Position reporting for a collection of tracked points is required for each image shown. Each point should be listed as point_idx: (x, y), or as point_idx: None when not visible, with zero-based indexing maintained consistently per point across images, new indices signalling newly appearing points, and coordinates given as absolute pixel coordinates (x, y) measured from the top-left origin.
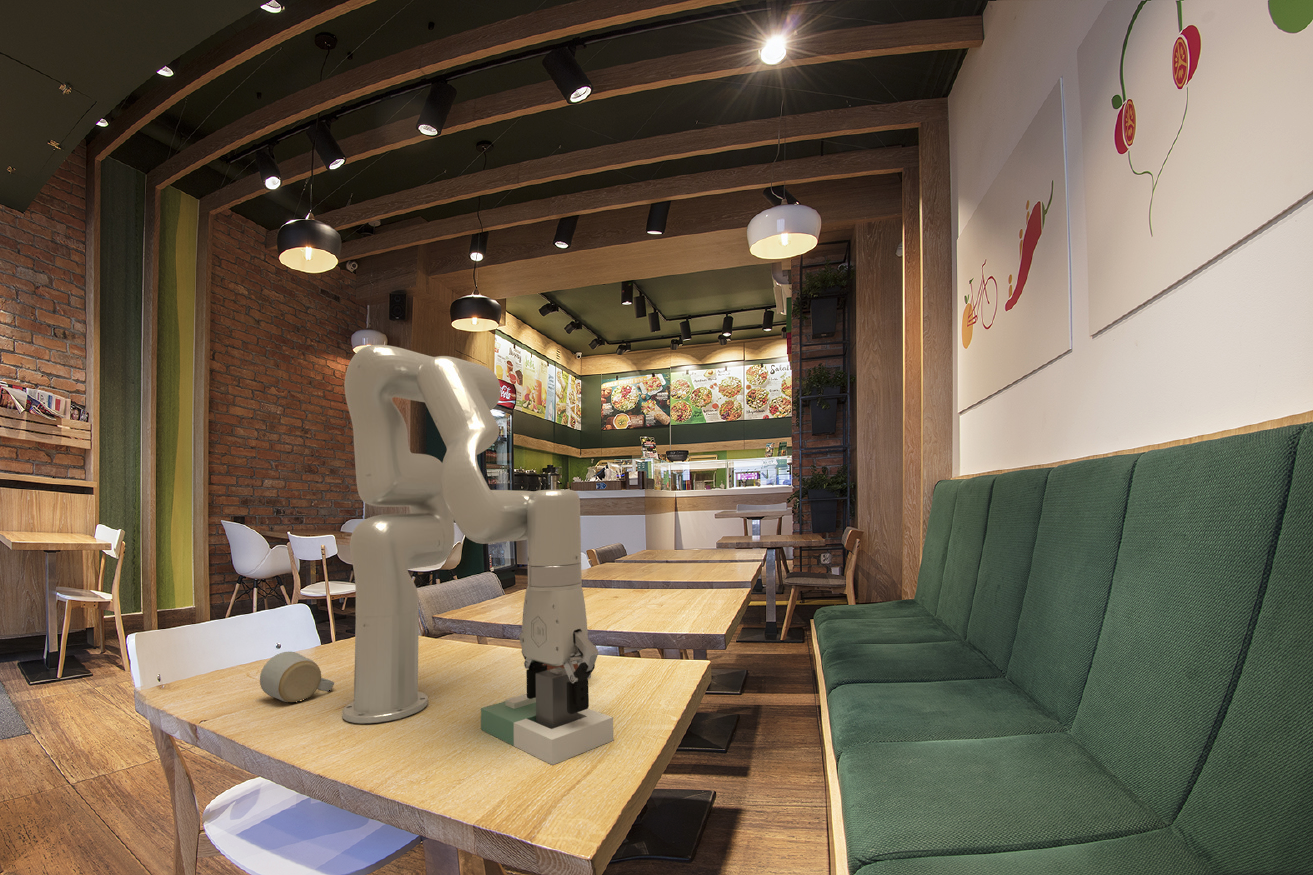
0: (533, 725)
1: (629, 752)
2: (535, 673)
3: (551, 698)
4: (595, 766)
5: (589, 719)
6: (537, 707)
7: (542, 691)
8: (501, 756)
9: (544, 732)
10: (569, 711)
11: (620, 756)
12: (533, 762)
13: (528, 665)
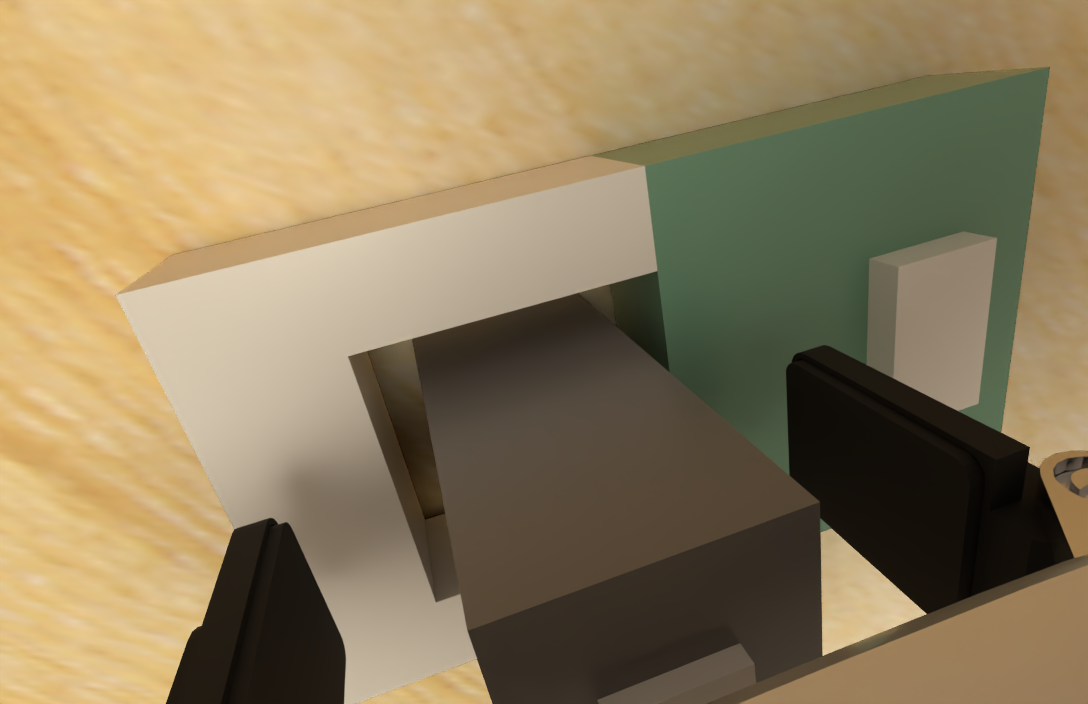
0: (497, 270)
1: (134, 641)
2: (932, 503)
3: (458, 479)
4: (23, 456)
5: (376, 599)
6: (629, 361)
7: (610, 450)
8: (490, 30)
9: (307, 293)
10: (234, 535)
11: (103, 595)
12: (280, 171)
13: (1060, 492)
